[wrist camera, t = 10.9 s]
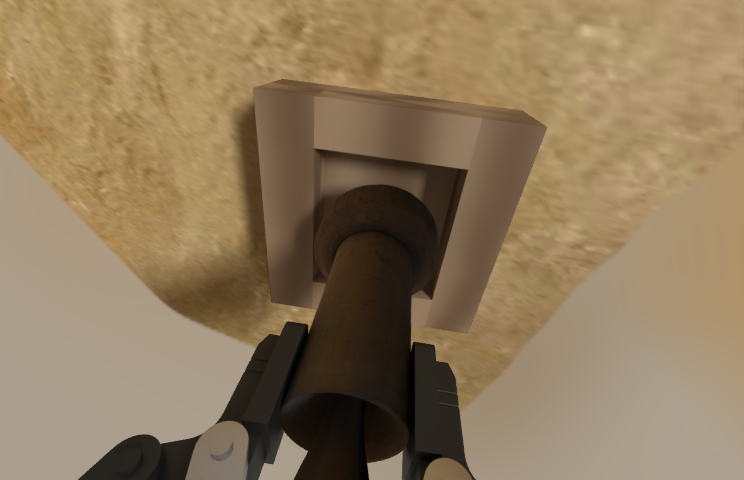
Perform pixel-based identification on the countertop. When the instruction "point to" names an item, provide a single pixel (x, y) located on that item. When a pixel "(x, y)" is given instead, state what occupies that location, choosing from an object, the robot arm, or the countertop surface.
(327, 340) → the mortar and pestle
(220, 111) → the countertop surface
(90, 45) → the countertop surface
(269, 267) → the brown flat square frame
